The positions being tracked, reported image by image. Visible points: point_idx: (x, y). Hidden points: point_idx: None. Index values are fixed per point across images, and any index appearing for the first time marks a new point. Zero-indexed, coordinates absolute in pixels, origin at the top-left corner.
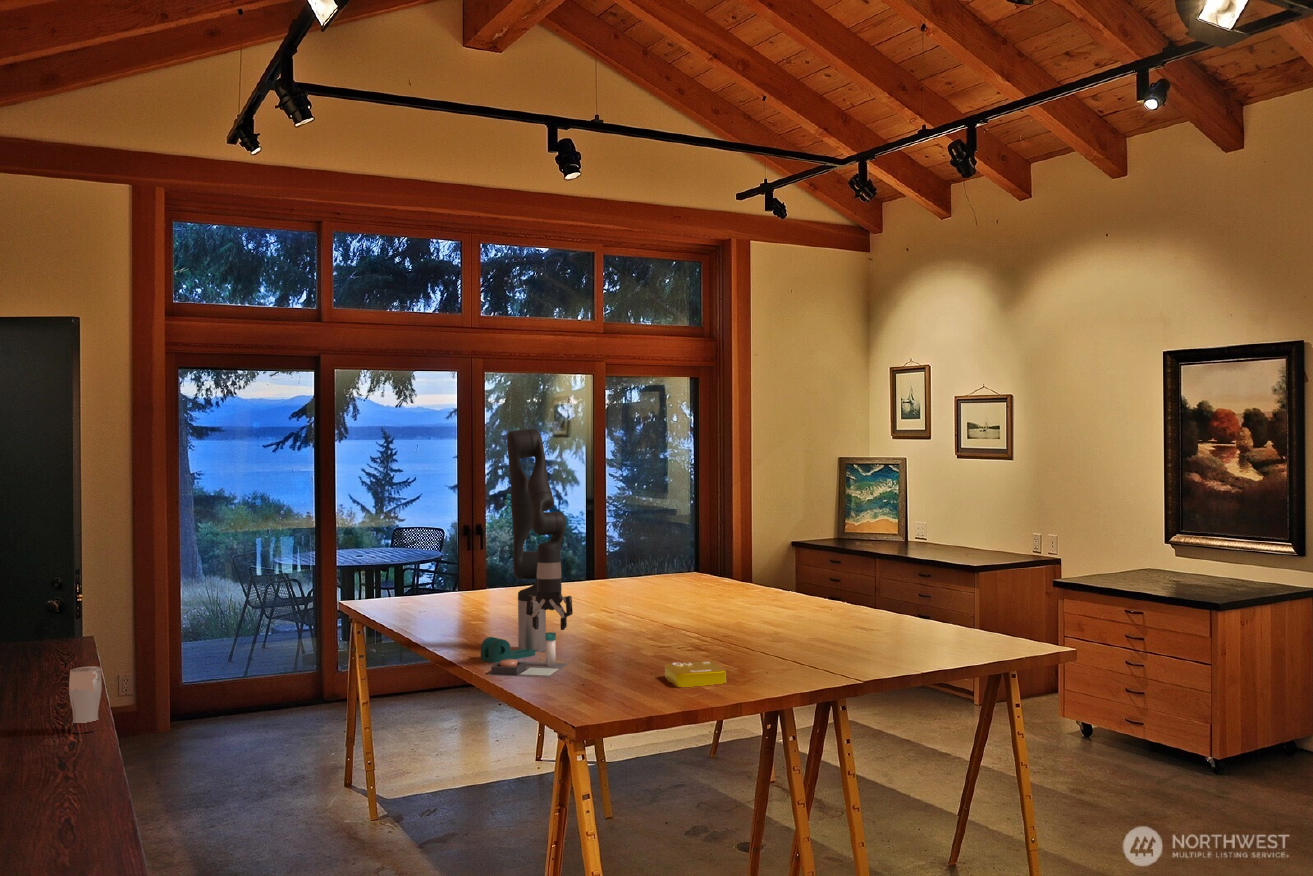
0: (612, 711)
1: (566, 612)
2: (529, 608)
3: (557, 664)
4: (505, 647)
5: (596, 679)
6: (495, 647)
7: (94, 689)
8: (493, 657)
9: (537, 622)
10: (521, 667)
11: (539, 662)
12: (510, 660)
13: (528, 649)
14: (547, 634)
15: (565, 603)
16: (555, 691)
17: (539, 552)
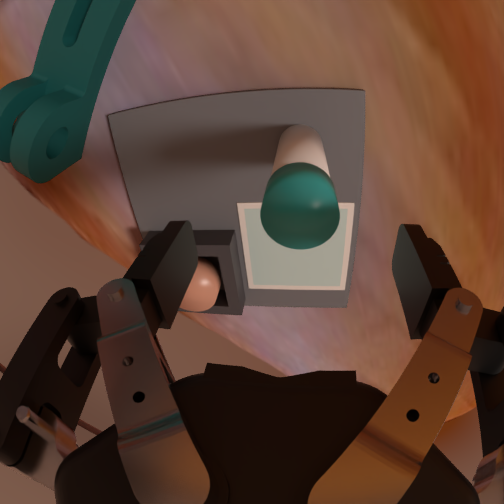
0: (455, 405)
1: (473, 383)
2: (86, 386)
3: (321, 117)
4: (54, 128)
5: (472, 271)
6: (44, 174)
7: None
8: (65, 165)
9: (176, 272)
10: (237, 278)
11: (222, 95)
12: (191, 288)
13: None
14: (289, 246)
15: (487, 455)
16: (380, 366)
17: None
